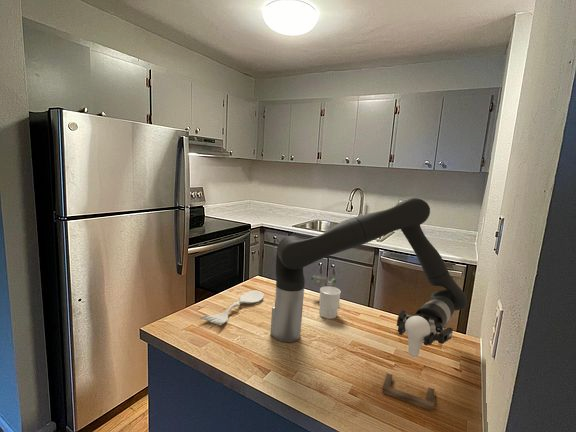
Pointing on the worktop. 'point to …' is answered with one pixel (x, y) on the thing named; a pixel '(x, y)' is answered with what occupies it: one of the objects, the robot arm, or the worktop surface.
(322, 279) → the mechanical component
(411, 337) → the lightbulb
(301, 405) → the worktop surface
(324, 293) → the white cup
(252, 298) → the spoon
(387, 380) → the walnut holder
